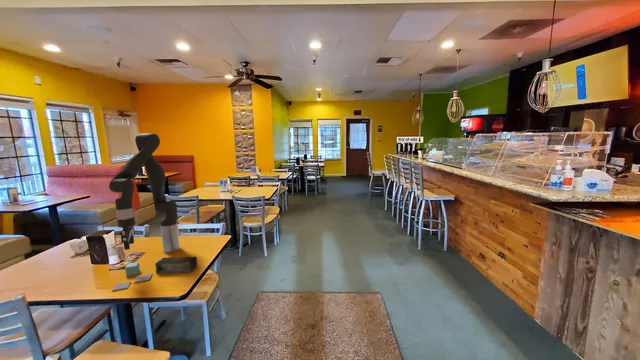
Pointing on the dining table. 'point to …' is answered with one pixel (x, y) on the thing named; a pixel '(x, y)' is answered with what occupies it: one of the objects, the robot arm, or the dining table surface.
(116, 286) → the pad
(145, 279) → the pad
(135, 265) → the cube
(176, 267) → the beverage carton
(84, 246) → the white crumpled lump
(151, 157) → the robot arm
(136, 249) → the dining table surface
